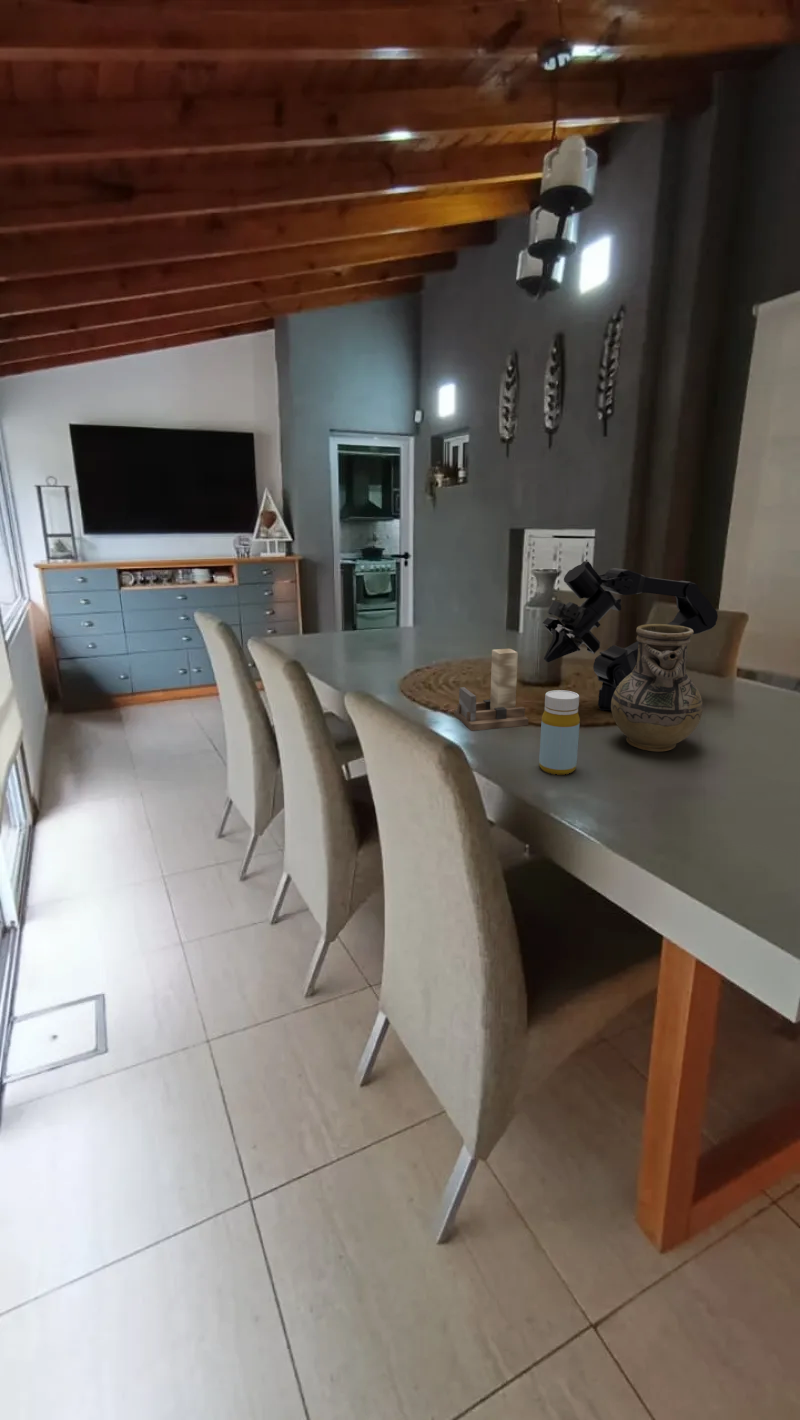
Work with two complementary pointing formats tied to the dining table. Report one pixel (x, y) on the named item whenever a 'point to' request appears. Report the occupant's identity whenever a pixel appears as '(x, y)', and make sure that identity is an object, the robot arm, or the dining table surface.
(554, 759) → the bottle
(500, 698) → the birch peg
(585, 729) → the dining table surface
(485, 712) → the peg housing
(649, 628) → the decorative pitcher
